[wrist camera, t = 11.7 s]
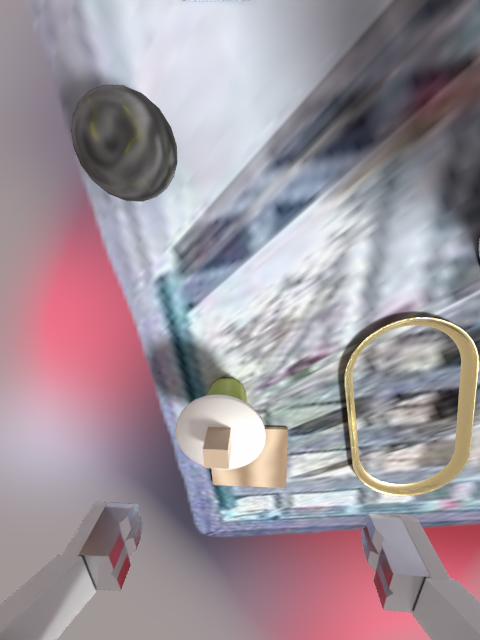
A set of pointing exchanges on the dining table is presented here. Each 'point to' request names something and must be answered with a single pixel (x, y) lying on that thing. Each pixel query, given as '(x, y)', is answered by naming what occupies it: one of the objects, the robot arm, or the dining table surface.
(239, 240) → the dining table surface
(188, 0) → the milk carton
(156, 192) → the decorative stone
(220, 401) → the lid
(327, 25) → the dining table surface
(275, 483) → the mat
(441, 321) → the oval gold ring
